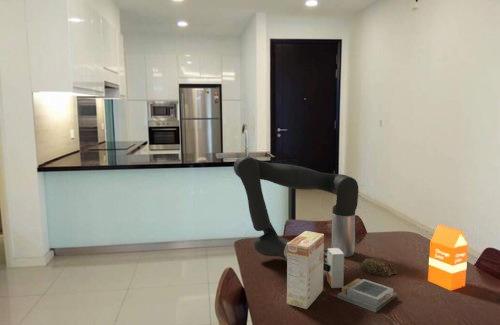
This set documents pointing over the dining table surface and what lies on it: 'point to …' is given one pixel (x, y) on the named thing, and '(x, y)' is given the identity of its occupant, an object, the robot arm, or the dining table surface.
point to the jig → (367, 294)
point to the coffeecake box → (305, 269)
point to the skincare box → (335, 267)
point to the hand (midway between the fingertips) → (337, 265)
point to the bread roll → (378, 267)
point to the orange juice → (448, 258)
